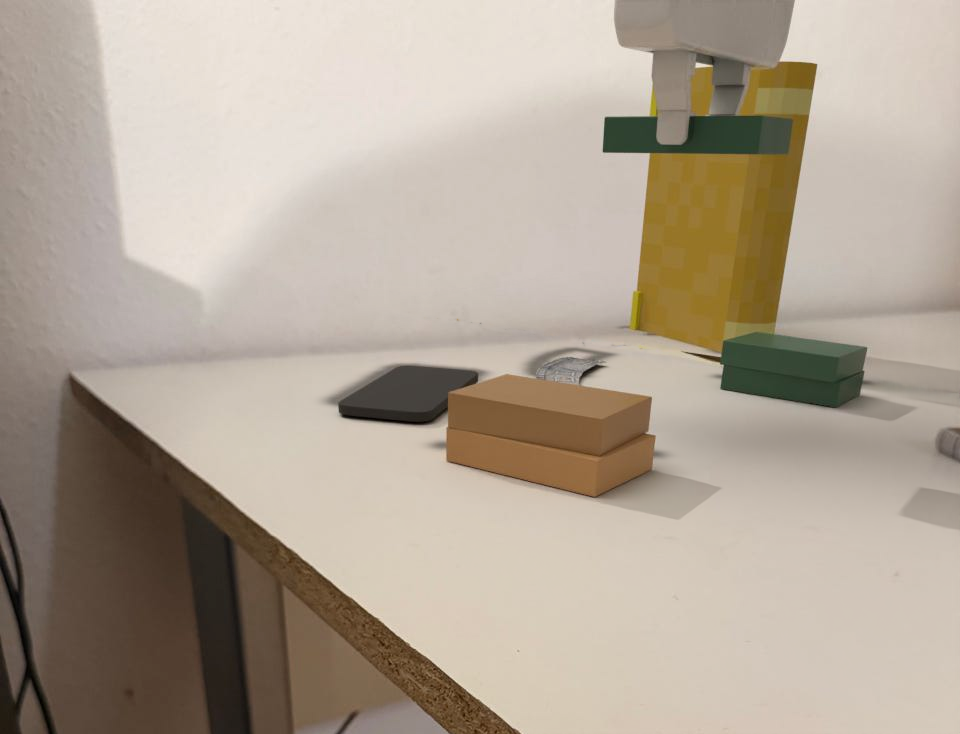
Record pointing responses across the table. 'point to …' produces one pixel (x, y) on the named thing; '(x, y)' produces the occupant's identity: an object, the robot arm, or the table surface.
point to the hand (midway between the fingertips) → (697, 145)
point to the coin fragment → (565, 369)
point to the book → (722, 222)
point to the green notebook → (701, 135)
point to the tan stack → (551, 432)
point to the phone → (407, 393)
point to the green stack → (793, 368)
